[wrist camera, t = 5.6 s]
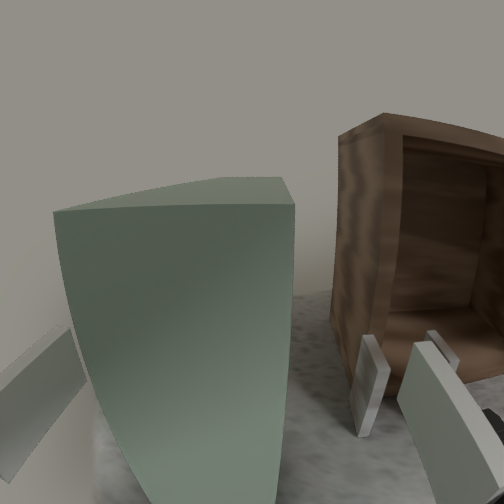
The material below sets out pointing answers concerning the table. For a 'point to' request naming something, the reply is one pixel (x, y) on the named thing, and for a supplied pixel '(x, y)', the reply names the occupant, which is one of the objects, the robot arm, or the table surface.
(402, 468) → the table surface
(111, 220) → the cabinet door
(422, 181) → the cabinet
